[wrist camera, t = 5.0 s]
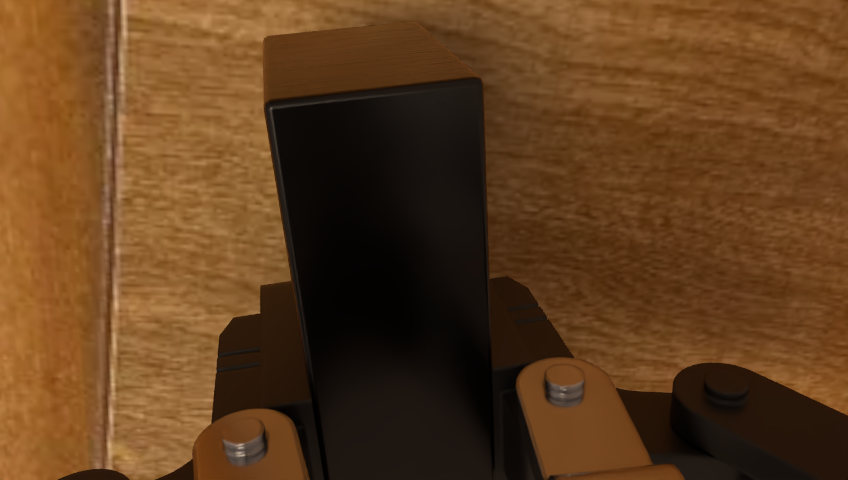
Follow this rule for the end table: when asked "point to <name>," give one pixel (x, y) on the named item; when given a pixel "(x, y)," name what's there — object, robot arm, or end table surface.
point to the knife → (386, 247)
